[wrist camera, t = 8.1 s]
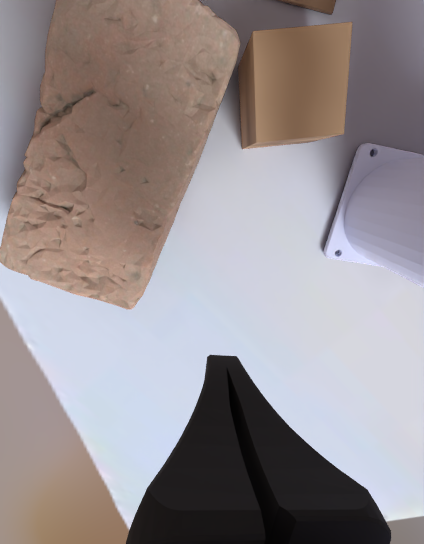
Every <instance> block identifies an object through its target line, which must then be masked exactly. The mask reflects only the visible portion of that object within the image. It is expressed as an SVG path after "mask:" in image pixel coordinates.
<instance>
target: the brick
mask: <svg viewBox="0 0 424 544" xmlns="http://www.w3.org/2000/svg"><path fill="white" fill-rule="evenodd" d="M240 44H241V43H240V40H239V37H238V34H237V32H236V30H235V29H234V28H233V27H231V26H230V25H229V24H228V23H226V22H225V21H224V20H222V19H221V18H219V17H218V16H217V15H216V14H215V13H214V12H213V11H212V10H211V9H210V8H209V7H208V6H204V5H203V4H202V3H201V2H200V1H199V0H56V3H55V8H54V12H53V15H52V19H51V23H50V28H49V32H48V37H47V43H46V50H45V73H44V75H43V78H42V82H41V85H40V102H41V105H42V108H41V107H40V108H39V109H38V110H37V112H36V117H35V126H34V132H33V136H32V138H31V140H30V143H29V145H28V148H27V151H26V153H25V156H26V159H25V160H24V162H23V164H24V168H25V170H24V172H23V174H22V175H21V177H20V179H19V180H18V182H17V192H16V193H15V195H14V197H13V200H12V203H11V206H10V209H9V213H8V216H7V220H6V225H5V229H4V234H3V238H2V244H1V247H0V262H1V263H2V264H3V265H4V266H5V267H7V268H8V269H11V270H13V271H16V272H19V273H22V274H26V275H28V276H29V277H30V278H31V279H33V280H36V281H40V282H43V283H46V284H49V285H51V286H54V287H57V288H59V289H62V290H65V291H67V292H70V293H73V294H76V295H80V296H84V297H89V298H93V299H97V300H100V301H104V302H107V303H110V304H113V305H116V306H119V307H122V308H125V309H132V308H134V307H135V305H136V304H137V302H138V300H139V299H140V298H141V297H142V295H143V293H144V291H145V289H146V286H147V285H148V283H149V281H150V278H151V276H152V272H153V270H154V268H155V266H156V263H157V260H158V258H159V255H160V253H161V251H162V248H163V246H164V244H165V242H166V239H167V236H168V234H169V231H170V229H171V227H172V225H173V222H174V219H175V216H176V214H177V211H178V209H179V206H180V203H181V201H182V199H183V197H184V194H185V192H186V190H187V188H188V185H189V183H190V181H191V178H192V176H193V174H194V171H195V168H196V166H197V164H198V162H199V159H200V157H201V154H202V152H203V149H204V146H205V144H206V141H207V138H208V135H209V132H210V130H211V128H212V125H213V122H214V119H215V116H216V114H217V111H218V109H219V106H220V104H221V101H222V99H223V96H224V94H225V91H226V88H227V85H228V82H229V80H230V77H231V75H232V72H233V70H234V67H235V64H236V61H237V56H238V52H239V48H240Z"/></svg>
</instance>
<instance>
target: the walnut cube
mask: <svg viewBox="0 0 424 544" xmlns="http://www.w3.org/2000/svg"><path fill="white" fill-rule="evenodd" d="M351 34H352V22H347V23H336V24H325V25H314V26H303V27H292V28H281V29H271V30H260V31H253V32H252V35H251V37H250V39H249V42H248V44H247V47H246V49H245V51H244V54H243V56H242V59H241V61H240V63H239V66H238V77H239V97H240V117H241V138H242V149H249V148H258V147H268V146H278V145H288V144H298V143H308V142H313V141H317V140H321V139H325V138H329V137H333V136H338V135H342V134H344V126H345V113H346V100H347V87H348V74H349V61H350V47H351Z"/></svg>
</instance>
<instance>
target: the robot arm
mask: <svg viewBox="0 0 424 544" xmlns="http://www.w3.org/2000/svg"><path fill="white" fill-rule="evenodd" d="M372 149H373V150H374V154H373V156H372V157H371V156H370V151H371V150H372ZM337 250H339V253H338V254H337V255H335V252H336V251H337ZM324 255H325V256H326V257H327V258H330V259H336V260H343V261H349V262H356V263H362V264H369V265H375V266H382V267H384V268H386V269H388V270H390V271H392V272H394V273H396V274H398V275H400V276H402V277H404V278H406V279H408V280H410V281H412V282H414V283H416V284H417V285H419V286H421V287H423V288H424V155H423V154H418V153H413V152H409V151H404V150H399V149H395V148H390V147H385V146H381V145H376V144H371V143H364V144H362V145H360V146H359V147H358V149H357V151H356V154H355V157H354V160H353V163H352V167H351V170H350V173H349V176H348V179H347V182H346V185H345V188H344V191H343V194H342V197H341V200H340V203H339V206H338V209H337V212H336V215H335V218H334V221H333V224H332V227H331V230H330V233H329V236H328V239H327V242H326V245H325V248H324ZM390 541H391V530H390V528H389V527H388V525H387V523H386V521H385V519H384V517H383V515H382V514H381V512H380V510H379V508H378V506H377V504H376V503H375V501H374V500H373V498H372V497H371V495H370V493H369V492H368V490H367V489H366V488H364V487H363V486H361V485H360V484H359V483H357V482H356V481H354V480H353V479H352V478H350V477H349V476H347V475H346V474H345V473H343V472H342V471H340V470H339V469H338V468H336V467H335V466H334V465H333V464H331V463H330V462H329V461H328V460H326V459H325V458H324V457H323V456H321V455H320V454H319V453H318V452H317V451H315V450H314V449H313V448H312V447H311V446H310V445H309V444H308V443H306V442H305V441H304V440H303V439H302V438H301V437H300V436H299V435H298V434H297V433H296V432H295V431H294V430H293V429H291V428H290V427H289V425H288V424H287V423H286V422H285V421H284V420H283V419H282V418H281V417H280V416H279V415H278V413H277V412H276V411H275V410H274V409H273V408H272V406H271V405H270V404H269V403H268V401H267V400H266V399H265V397H264V396H263V395H262V394H261V392H260V391H259V389H258V388H257V387H256V385H255V384H254V382H253V381H252V379H251V378H250V377H249V375H248V373H247V372H246V370H245V369H244V367H243V366H242V364H241V362H240V361H239V359H238V358H237V356H220V355H209V356H208V357H207V364H206V372H205V380H204V384H203V388H202V391H201V394H200V396H199V399H198V402H197V404H196V407H195V409H194V411H193V414H192V416H191V418H190V420H189V422H188V424H187V426H186V428H185V430H184V432H183V434H182V436H181V438H180V439H179V441H178V443H177V445H176V446H175V448H174V449H173V451H172V453H171V454H170V456H169V457H168V459H167V461H166V462H165V464H164V465H163V467H162V468H161V470H160V471H159V472H158V474H157V475H156V477H155V478H154V479H153V481H152V482H151V484H150V485H149V486H148V488H147V490H146V492H145V495H144V497H143V499H142V501H141V503H140V505H139V508H138V510H137V512H136V515H135V517H134V520H133V522H132V525H131V527H130V530H129V534H128V538H127V541H126V544H390Z"/></svg>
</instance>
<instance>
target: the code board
mask: <svg viewBox="0 0 424 544" xmlns="http://www.w3.org/2000/svg"><path fill="white" fill-rule="evenodd" d="M278 1H282V2H285V3H289V4H293V5H296V6H300V7H304V8H308V9H311V10H315V11H319V12H322V13H326V14H330V15H331V14H332V13H333V10H334V6H335V2H336V0H278Z"/></svg>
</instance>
